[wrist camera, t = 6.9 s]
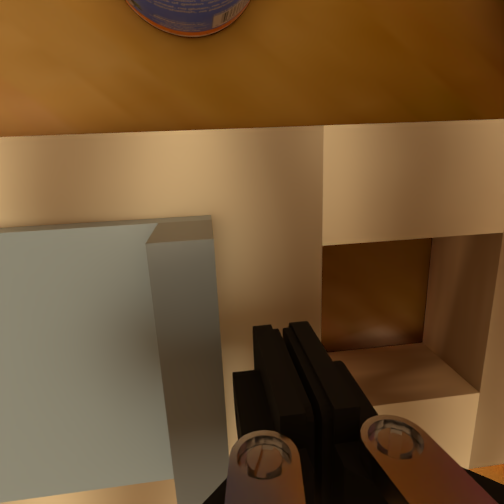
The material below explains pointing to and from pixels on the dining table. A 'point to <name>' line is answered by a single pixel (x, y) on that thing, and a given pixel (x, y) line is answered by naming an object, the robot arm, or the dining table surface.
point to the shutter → (111, 358)
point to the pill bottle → (189, 15)
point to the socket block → (309, 248)
